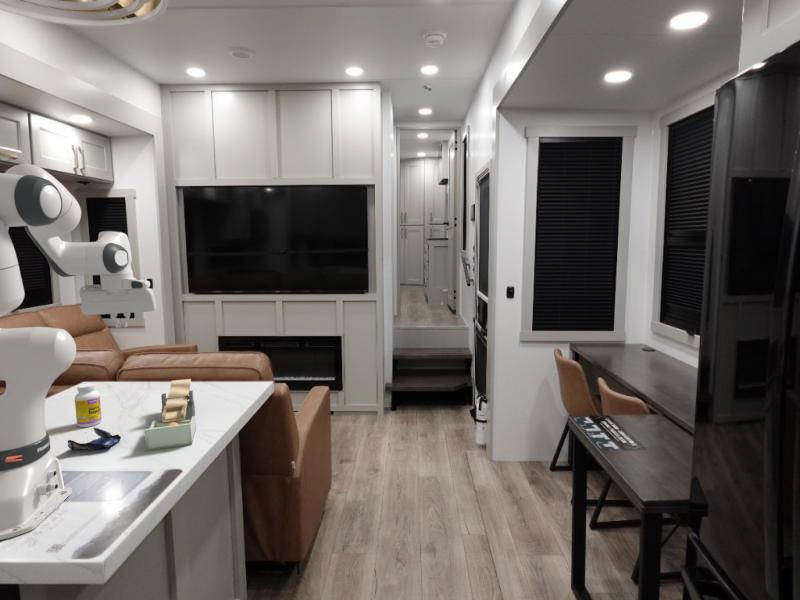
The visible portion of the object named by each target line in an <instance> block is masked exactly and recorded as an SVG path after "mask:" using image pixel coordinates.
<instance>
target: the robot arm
mask: <svg viewBox="0 0 800 600" xmlns="http://www.w3.org/2000/svg"><path fill="white" fill-rule="evenodd" d="M81 217H82V209H81V206H80V204H79V202H78V200H77V199H76V198H75V197H74V196H73V195H72V194H71V193H70V191H69V190H68V188H66V186H64V185H63V184H62V183H61V182H60V181H59V180H57V178H56V177H54V176H53V175H52V174H50V173H49V172H48V171H46V169H44V168H42V167H40V166H38V165H35V164H32V163H31V164H30V163H21V164H19V163H18V164H16V165H13V166H12V167H9V168H8V169H7V170H6V171H5V172H0V317H2V316H4V315H6V314H8V313H10V312H12V311H14V310H16V309H17V308H18V307H20V305H21V304H22V303H23V301H24V299H25V288H24V284H23V279H22V275H21V270H20V266H19V261H18V257H17V252H16V250H15V247H14V243H13V242H12V239H11V236H10V234H9V229H10V227H12V228H13V227H23V228H24V230H25V231H26V234H27V236H29V238H30V240H31V241H32V242H33V243H34V244H35V246H36V247H37V248H38V249H39V251H40V252H41V253H42V255H43V256H44V257H45V258H46V260H47V263H48V264H49V267H50V269H51V270H52V271H53V272H55V274H57V275H59V276H60V277H61V278H62V277H63V278H70V277H78V276H100V277H99V278H100V283H99V284H85V285H84V286H81V288H80V289H79V297H80V299H81V303H80V311H81V313H82V315H84V316H95V315H110V318H111V320H112V321H113V322H114V323H115V328H117V329H119V328H128V320H129V319H130V317H131V314H132V313H145V312H154V311H155V310H156V309H157V300H156V298H155V292H154V291H153V290H152V288H150V287H151V282H150V281H149V280H146V279H141V278H138V277H134V271H133V269H132V261H133V259H132V249H131V244H130V241H129V238H128V235H127V234H126V233H125V232H122V231H116V230H104V231H100V232H99V233H98V238H97V240H96V241H91V242H90V241H88V242H87V241H86V242H81V241H80V242H76V241H75V242H73V241H71V242H70V241H64V240H62V239H61V238H60V237H62V236H64V235H67V234H69V233H72V231H73V230H74V229H76V228H77V226H78V224H79V223H80V222H81V219H82V218H81ZM118 314H123V316H124V317H125V318H124V320H122V321H120V320H119V319H118V318H117V317H118ZM76 355H77V344H76V341H75V340H74V338H73V336H72V335H71V333H69V332H68V331H67V330H66V329H64V328H57V327H47V326H25V327H11V328H10V327H9V328H4V327H3V328H1V326H0V381H5V386H6V387H5V391H4V393H3V394H0V541H1V540H7V539H10V538H13V537H17V536H21V535H22V534H25V533H28V532H30V531H31V532H32V530H34V529H35V528H36V527H38V526H39V525H40V524H41V523H42V522H43V521H44V520H45V519H46V518H48V516H50V515H51V514H52V513H53V512H54V511H55V510H56V509H57V508H58V507H60V505H61V504H62V503H64V502H65V501H66V500H67V499H68V498H69V497H70V496H71V495H72V494H73V490H72V487H67V486H65V483H64V479H63V472H62V467H61V464H60V460H59V459H58V457H55V456H54V455H53V454H52V453H51V439H50V435H49V433H48V432H47V430H46V429H47V427H46V414H45V412H46V411H45V409H46V408H45V407H46V404H45V403H46V398H47V395H48V393H49V390H50V387H51V386H52V384H53V383H54V382H55V380H57V378H58V377H59V376H61V375H62V374H63V373H65V372H66V371H67V370H68V369H69V368H70V367H71V366H72V364H73V362H74V361H75V359H76ZM68 496H69V497H68ZM67 497H68V498H67ZM66 498H67V499H66ZM65 499H66V500H65ZM64 500H65V501H64Z"/></svg>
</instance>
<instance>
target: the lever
mask: <svg viewBox="0 0 800 600" xmlns="http://www.w3.org/2000/svg"><path fill="white" fill-rule="evenodd" d="M191 383H192V379H191V378H187V379H176V380H171V383H170V385H169V387H170V388H169V390H168V395H167V397H166V406H164V409H163V413H162V412H161V422H162V421H163V422H171V421H179V420H185V414H186V408H187V402H188V401H189V391H191Z"/></svg>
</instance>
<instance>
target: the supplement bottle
mask: <svg viewBox="0 0 800 600" xmlns="http://www.w3.org/2000/svg"><path fill="white" fill-rule="evenodd" d="M77 391H78V393H77V394H76V395H75V396H74V404H75V405H74V407H75V417H76V425H77V427H79V428H89V427H94V426H97V425H98V424H100V423H102V421H103V420H102V406H101V396H100V393H99V391H97V390H96V383H93V382H90V383H89V382H87V383H82V384H78V385H77Z"/></svg>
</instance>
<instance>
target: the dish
mask: <svg viewBox="0 0 800 600" xmlns="http://www.w3.org/2000/svg"><path fill="white" fill-rule="evenodd" d="M170 423H172V422H168V423H162V422H161V423H157V420H152V422H151V424H150V427H149V428H145V429H144V433H143V434H144V440H145V441H144V443H145V451H146V452H149V451H155V450H157V451H158V450H163V449H169V448H176V447H177V448H178V447H182V446H183V447H184V446H191V445H193V441H194V438H195V434H196V430H197V423H196V415H195V416H192V419H191V420H184V421H176V423H178V425H173V426H168V424H170Z"/></svg>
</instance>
